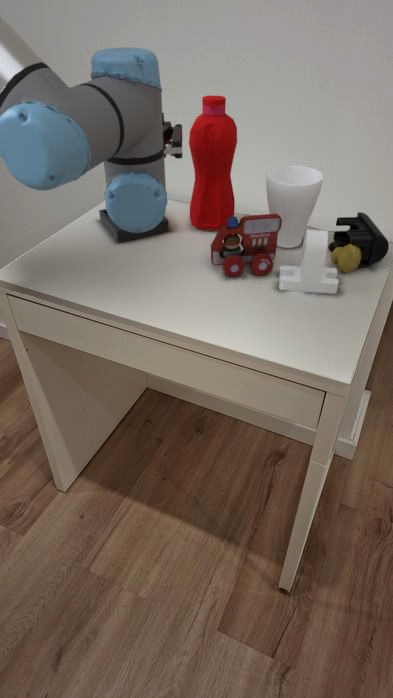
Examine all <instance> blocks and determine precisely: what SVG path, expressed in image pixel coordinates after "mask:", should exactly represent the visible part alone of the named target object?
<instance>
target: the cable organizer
mask: <svg viewBox="0 0 393 698" xmlns="http://www.w3.org/2000/svg"><path fill="white" fill-rule="evenodd" d="M328 242H329V231H328V230H319V229H305V231H304V235H303V243H302V249H301V256H300V263H299V265H286V264H283V265H280V267H279V275H278V279H279V281H278V282H279V283H278V288H279V290H281V291H290V292H304V293H305V292H306V293H320V294H332V295H333V294H337V292H338V287H339V283H340V279H339V278H337V277H338V270H337V269H338V268H336V267H326V266H325V263H326V258H327V252H328V245H329V243H328Z"/></svg>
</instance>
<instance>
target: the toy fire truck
mask: <svg viewBox="0 0 393 698" xmlns="http://www.w3.org/2000/svg"><path fill="white" fill-rule="evenodd" d="M281 224H282V219H281V217H280V216H279V215H278V214H270V213H267V214H254V215H244V216H242V217H241V218H240V220H239V219H238V217H236V216H235V215H234V216H231V217H229V218H228V220H227V225H223V226H222V227H221V228H220V229H219V231H217V233H216V235H215V237H214V238H213V241H212V242H211V243H210V262H211V264H212V265H213V266H222V271H223V273H224V274H225V275H226V276H227V277H230V278H237V277H240V276H241V275H242V274H243V273H244V272H245V269H246V264H249V267H250V269H251V271H252V273H253V274H254V275H256V276H265V275H267V274H269V273H270V272H271V271H272V270H273V268H274V259H276V256H277V248H278V246H277V237H278V232H279V230H280V229H281ZM240 237H241V238H240Z"/></svg>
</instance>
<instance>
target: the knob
mask: <svg viewBox="0 0 393 698" xmlns="http://www.w3.org/2000/svg"><path fill="white" fill-rule="evenodd" d="M330 259H331V262H332V264H333V265H336V266H338V268H339V270H340V271H341V272H343V273H346V274H350V273H351V272H354V271H356V269H358V268H357V267H358V265H359V263H360V261H361V251H360V248H359V247H356V246H355V245H351V244H349V245H346V246H345V247H344V248H342V247H337V248H335V249H334V248H333V250H332V253H331V256H330Z"/></svg>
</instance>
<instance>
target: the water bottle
mask: <svg viewBox="0 0 393 698" xmlns="http://www.w3.org/2000/svg"><path fill="white" fill-rule="evenodd" d="M201 100H202V101H201V104H202V106H201V107H202V108H201V109H202V113H201V114H199V115H198V116H197V117H196V118H195V119H194V122H193V124H192V125H191V127H190V129H189V137H188V145H189V151H190V155H191V160H192V165H193V169H194V183H193V188H192V192H191V193H192V194H191V199H190V204H189V220H190V224H191V226H192V227H194V228H195V229H197V230H202V231H217V232H218V231H219V229H220V228H221V227H222V226H223V225H227V220H228V218H229V217H231V216H235V211H236V210H235V209H236V208H235V205H236V203H235V201H236V200H235V195H234V194H235V193H234V189H233V183H232V176H231V174H232V173H231V172H232V167H233V162H234V158H235V154H236V153H235V152H236V149H237V144H238V126H237V125H236V122H235V120H234V118H232V116H230V115H228V114H227V113H226V101H227V98H226V97H225V96H223V95H212V94H211V95H208V94H207V95H206V96H205V95H204V96H203V97H202V99H201Z"/></svg>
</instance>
